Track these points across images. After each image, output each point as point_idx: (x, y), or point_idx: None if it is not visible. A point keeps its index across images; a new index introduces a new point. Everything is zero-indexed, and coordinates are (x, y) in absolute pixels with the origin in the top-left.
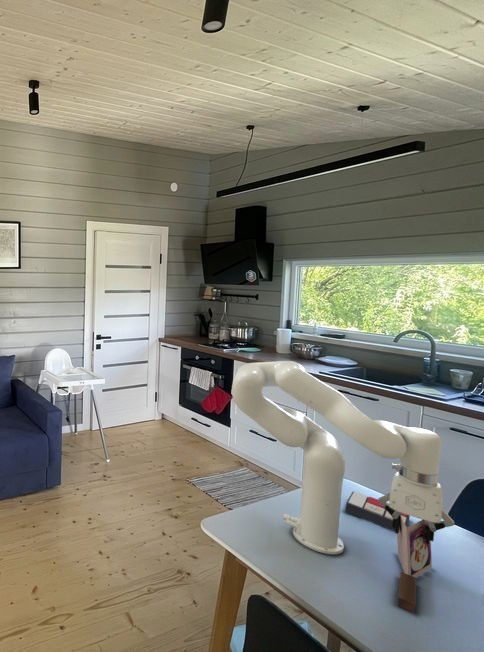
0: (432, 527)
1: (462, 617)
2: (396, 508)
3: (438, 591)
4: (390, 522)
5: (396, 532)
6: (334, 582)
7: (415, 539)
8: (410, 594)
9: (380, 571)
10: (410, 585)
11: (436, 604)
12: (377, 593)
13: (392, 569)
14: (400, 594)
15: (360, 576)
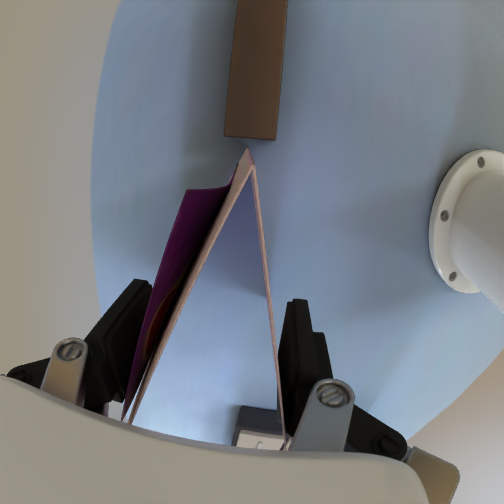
0: (64, 361)
1: (126, 71)
2: (364, 485)
3: (167, 162)
4: (272, 426)
5: (299, 301)
6: (442, 14)
7: (193, 254)
8: (252, 7)
9: (332, 151)
10: (247, 60)
11: (179, 76)
12: (343, 13)
13: (292, 196)
14: None
15: (391, 76)
